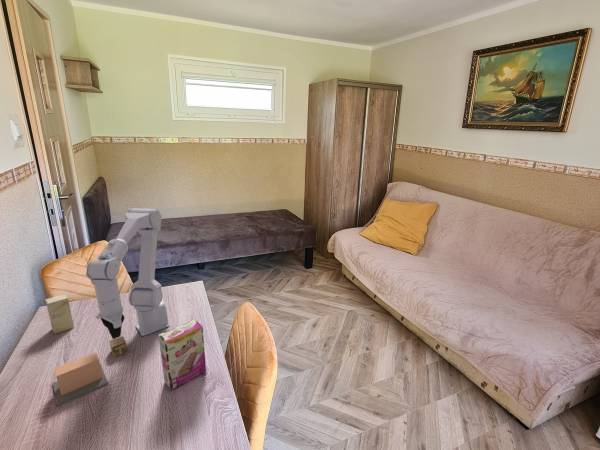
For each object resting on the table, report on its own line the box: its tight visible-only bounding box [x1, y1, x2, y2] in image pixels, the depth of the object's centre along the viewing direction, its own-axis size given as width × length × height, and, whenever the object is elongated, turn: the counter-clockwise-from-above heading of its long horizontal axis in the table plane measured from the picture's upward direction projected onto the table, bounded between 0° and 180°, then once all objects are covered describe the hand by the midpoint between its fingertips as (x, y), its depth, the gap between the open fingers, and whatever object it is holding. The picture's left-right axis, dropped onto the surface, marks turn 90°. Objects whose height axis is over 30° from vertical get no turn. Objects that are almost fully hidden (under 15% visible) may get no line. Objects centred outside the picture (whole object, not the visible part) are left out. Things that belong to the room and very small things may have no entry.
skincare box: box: [45, 293, 75, 335], centre depth 116 cm, size 6×4×12 cm
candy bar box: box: [158, 319, 207, 392], centre depth 94 cm, size 11×5×16 cm, turn 134°
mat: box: [52, 363, 109, 407], centre depth 93 cm, size 12×10×1 cm
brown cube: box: [109, 335, 129, 358], centre depth 106 cm, size 4×4×4 cm
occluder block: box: [54, 351, 103, 396], centre depth 92 cm, size 10×4×6 cm, turn 131°
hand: (116, 336), depth 99 cm, fingers closed
